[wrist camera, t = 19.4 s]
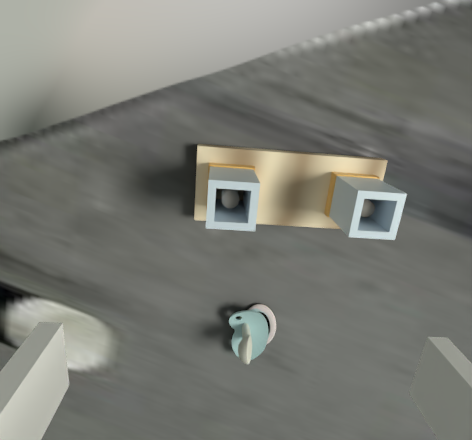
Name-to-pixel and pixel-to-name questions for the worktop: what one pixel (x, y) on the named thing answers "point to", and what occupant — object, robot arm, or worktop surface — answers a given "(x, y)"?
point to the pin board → (284, 182)
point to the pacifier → (252, 331)
